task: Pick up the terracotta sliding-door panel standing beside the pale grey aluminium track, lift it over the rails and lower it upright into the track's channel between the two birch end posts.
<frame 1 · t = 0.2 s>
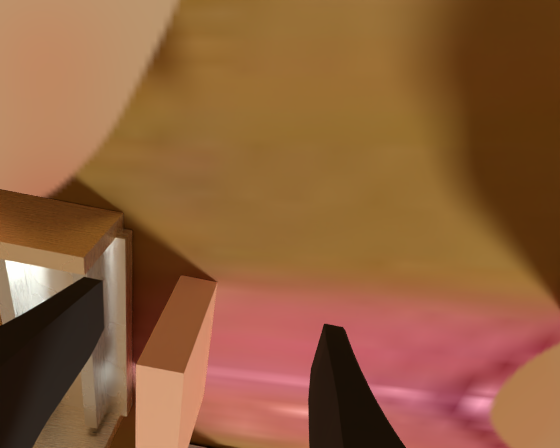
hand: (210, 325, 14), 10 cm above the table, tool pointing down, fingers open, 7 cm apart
door panel: (193, 339, 28), on the table
door track: (71, 317, 28), on the table
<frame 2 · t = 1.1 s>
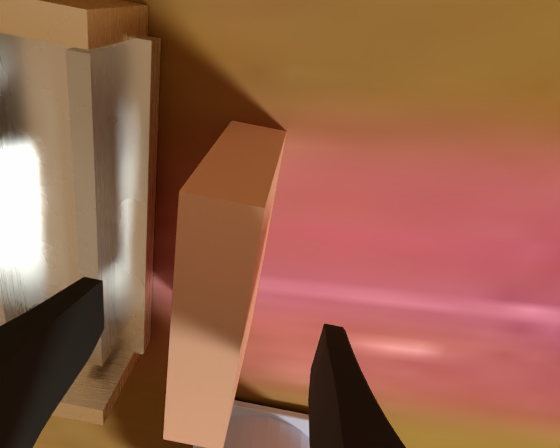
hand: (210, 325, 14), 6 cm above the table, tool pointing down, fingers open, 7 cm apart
door panel: (243, 233, 19), on the table
door track: (66, 200, 19), on the table
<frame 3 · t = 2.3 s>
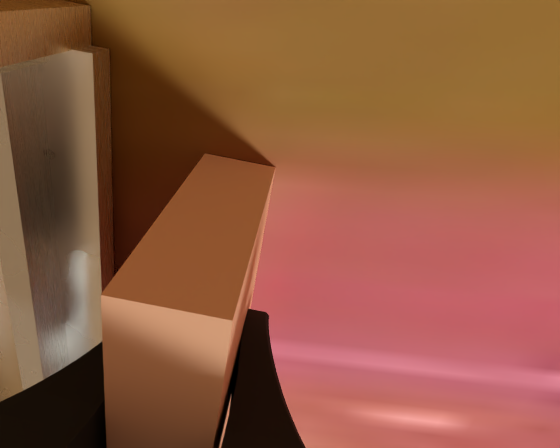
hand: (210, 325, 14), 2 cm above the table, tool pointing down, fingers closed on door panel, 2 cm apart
door panel: (222, 289, 16), on the table, touching gripper
door track: (4, 247, 16), on the table
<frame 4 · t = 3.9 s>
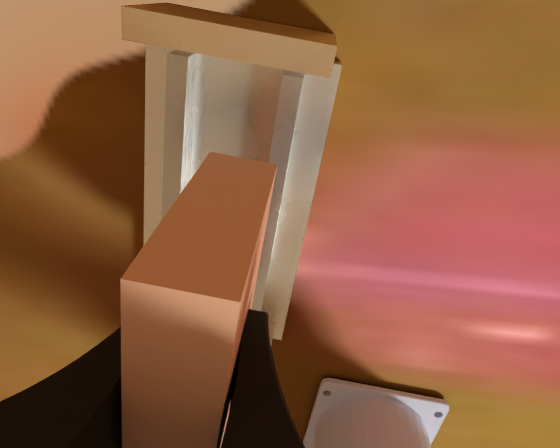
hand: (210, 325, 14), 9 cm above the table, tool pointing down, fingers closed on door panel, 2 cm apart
door panel: (226, 281, 16), point 6 cm above the table, touching gripper
door track: (229, 202, 22), on the table
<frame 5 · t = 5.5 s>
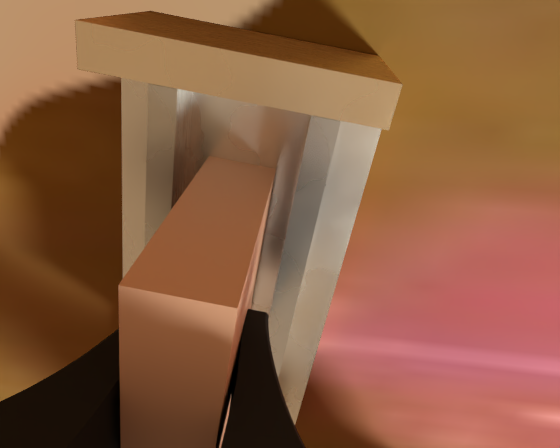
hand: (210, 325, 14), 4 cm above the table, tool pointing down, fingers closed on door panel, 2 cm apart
door panel: (225, 284, 16), point 1 cm above the table, touching door track, gripper
door track: (232, 263, 17), on the table
when the fingers open (4 cm above the table, at t = 5.9 s): door panel stays where it is, resting on door track.
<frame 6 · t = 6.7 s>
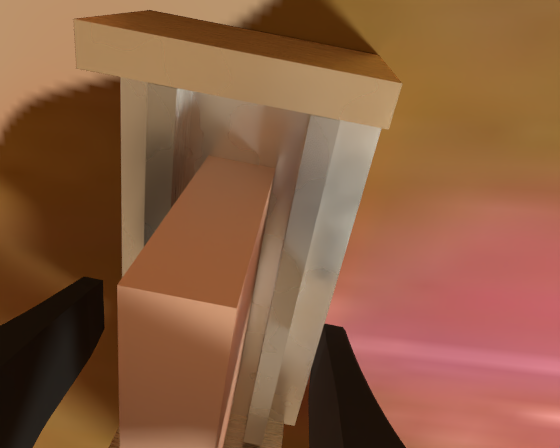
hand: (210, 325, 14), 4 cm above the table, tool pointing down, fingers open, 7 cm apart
door panel: (225, 284, 16), point 1 cm above the table, touching door track
door track: (231, 263, 17), on the table
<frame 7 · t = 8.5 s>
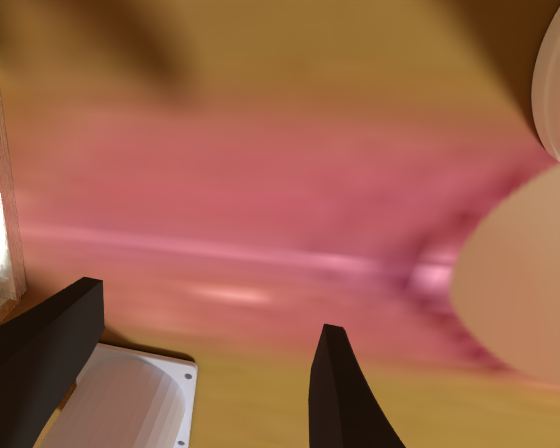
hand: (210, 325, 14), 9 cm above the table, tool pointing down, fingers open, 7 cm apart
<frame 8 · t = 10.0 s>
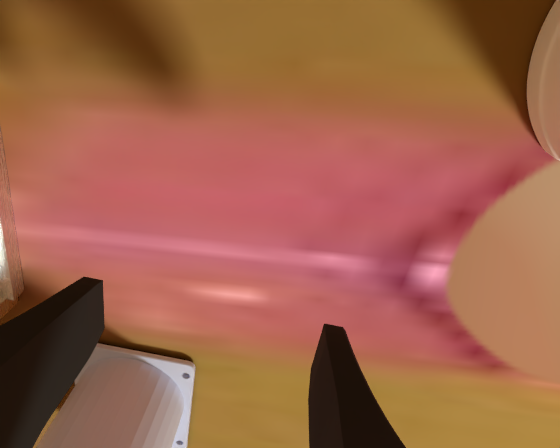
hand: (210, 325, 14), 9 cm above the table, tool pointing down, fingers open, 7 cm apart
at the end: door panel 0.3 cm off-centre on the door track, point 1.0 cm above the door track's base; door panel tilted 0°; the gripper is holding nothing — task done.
